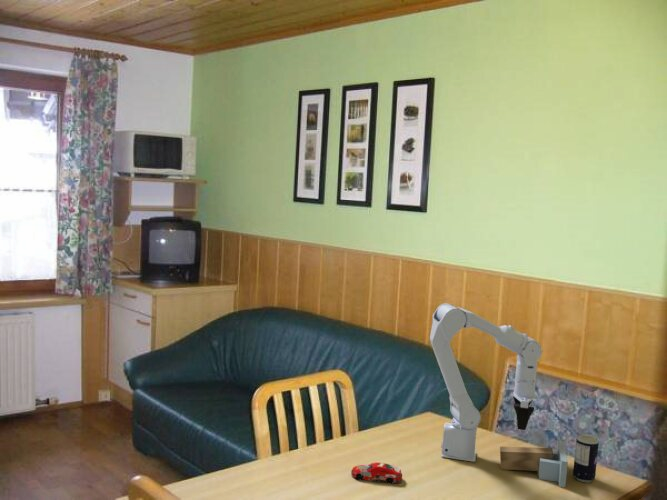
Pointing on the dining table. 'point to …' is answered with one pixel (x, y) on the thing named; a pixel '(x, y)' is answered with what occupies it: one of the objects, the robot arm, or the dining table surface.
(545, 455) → the brown wooden block
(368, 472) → the race car
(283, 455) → the dining table surface
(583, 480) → the beverage can
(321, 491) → the dining table surface
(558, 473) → the pale blue bench
